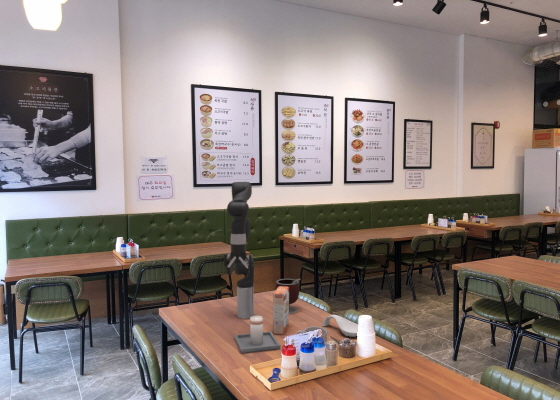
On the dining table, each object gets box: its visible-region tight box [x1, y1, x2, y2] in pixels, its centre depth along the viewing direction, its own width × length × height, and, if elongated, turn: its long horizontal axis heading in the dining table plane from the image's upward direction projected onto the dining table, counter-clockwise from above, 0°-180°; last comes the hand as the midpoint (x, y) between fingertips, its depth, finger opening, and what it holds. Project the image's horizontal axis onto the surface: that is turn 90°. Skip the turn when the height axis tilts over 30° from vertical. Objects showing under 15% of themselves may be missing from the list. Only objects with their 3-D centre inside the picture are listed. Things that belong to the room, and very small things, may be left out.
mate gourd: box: [274, 278, 301, 315], centre depth 256 cm, size 16×14×20 cm
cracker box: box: [272, 286, 290, 335], centre depth 226 cm, size 14×6×21 cm, turn 168°
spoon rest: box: [322, 314, 359, 338], centre depth 224 cm, size 24×12×7 cm, turn 43°
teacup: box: [296, 325, 328, 343], centre depth 205 cm, size 14×11×8 cm
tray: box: [234, 330, 281, 355], centre depth 208 cm, size 18×18×2 cm
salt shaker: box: [249, 315, 264, 345], centre depth 208 cm, size 6×6×12 cm
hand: (238, 275), depth 218 cm, fingers open, 8 cm apart
